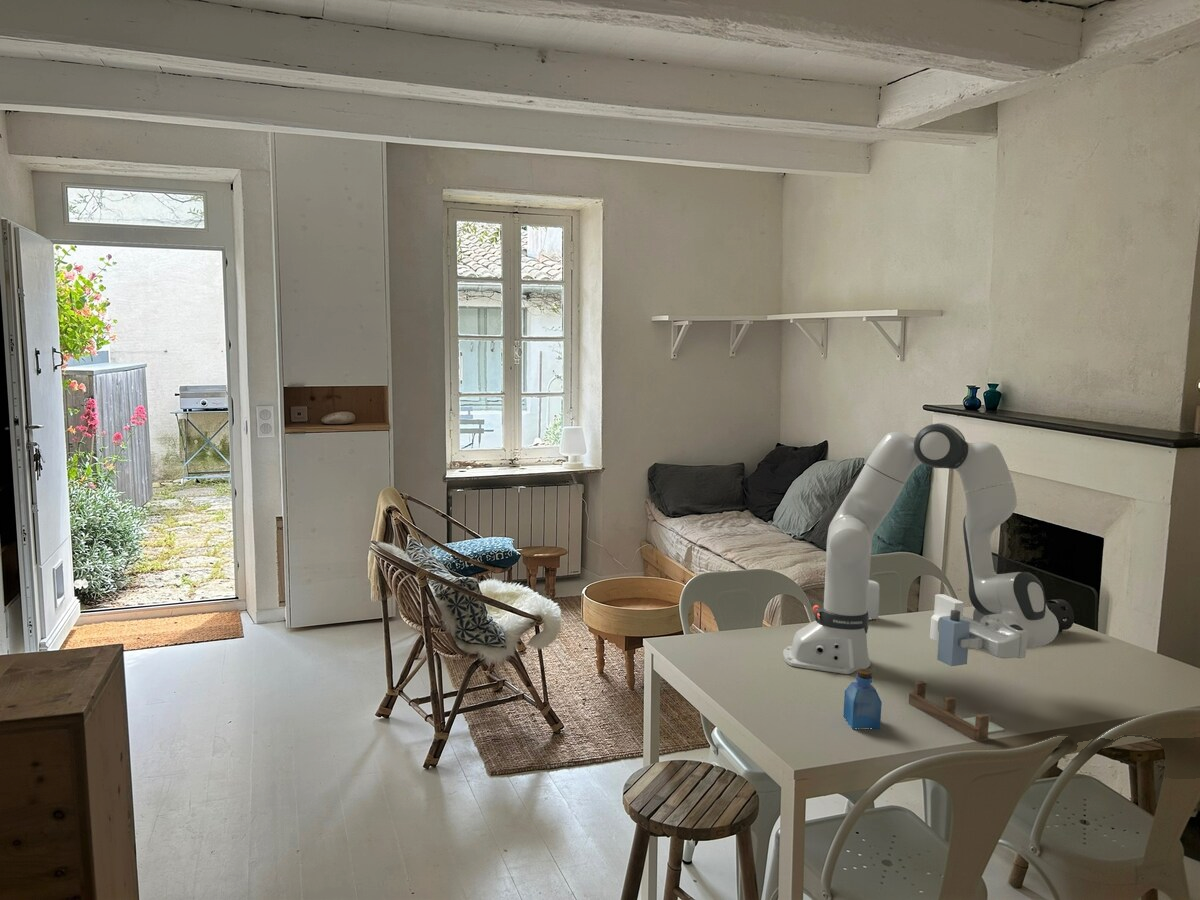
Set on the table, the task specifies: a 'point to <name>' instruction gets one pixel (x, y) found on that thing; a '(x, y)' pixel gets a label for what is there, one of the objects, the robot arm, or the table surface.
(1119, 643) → the table surface
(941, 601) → the base with upright slab
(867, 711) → the perfume bottle
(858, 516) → the robot arm
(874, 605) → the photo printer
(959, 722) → the comb rack
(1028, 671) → the table surface
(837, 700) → the table surface
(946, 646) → the blue block with peg
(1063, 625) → the muzzle brake
